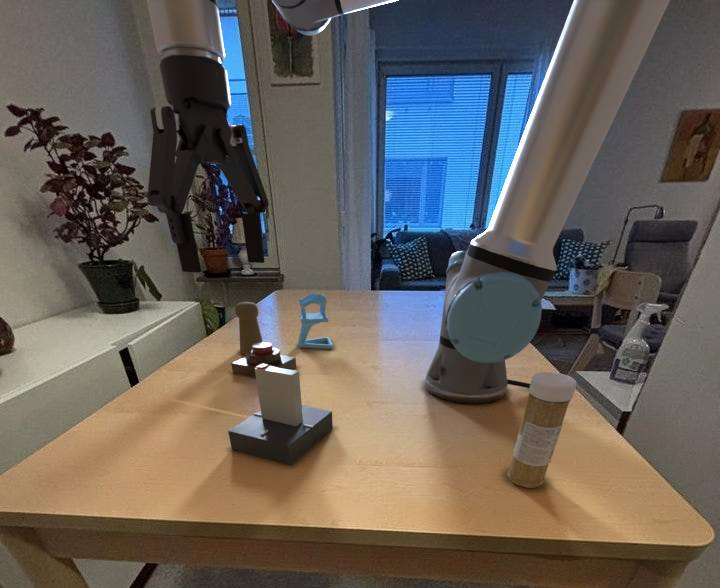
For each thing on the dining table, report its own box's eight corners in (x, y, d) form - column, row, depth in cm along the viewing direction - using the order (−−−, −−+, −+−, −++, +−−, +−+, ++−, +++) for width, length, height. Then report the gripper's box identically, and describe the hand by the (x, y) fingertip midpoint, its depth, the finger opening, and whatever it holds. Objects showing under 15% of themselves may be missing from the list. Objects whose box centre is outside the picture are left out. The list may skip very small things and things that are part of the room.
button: (276, 352, 83) (275, 343, 82) (265, 357, 80) (264, 348, 79) (261, 349, 85) (260, 341, 84) (249, 354, 82) (248, 346, 81)
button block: (296, 367, 86) (294, 348, 84) (272, 380, 79) (270, 360, 77) (259, 361, 89) (256, 343, 87) (233, 373, 83) (229, 354, 80)
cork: (259, 355, 93) (252, 305, 87) (235, 354, 94) (227, 304, 88) (269, 348, 98) (263, 300, 91) (246, 347, 99) (239, 299, 92)
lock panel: (333, 428, 62) (332, 410, 60) (291, 465, 53) (289, 445, 51) (279, 416, 65) (277, 398, 64) (231, 449, 56) (227, 429, 55)
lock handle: (303, 421, 57) (298, 369, 53) (296, 426, 56) (291, 373, 51) (269, 414, 59) (262, 362, 55) (261, 418, 58) (254, 366, 53)
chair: (297, 342, 103) (293, 291, 96) (329, 340, 104) (327, 290, 97) (299, 350, 96) (295, 297, 90) (333, 348, 98) (331, 296, 91)
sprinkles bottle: (516, 466, 53) (542, 367, 46) (549, 479, 51) (584, 377, 43) (500, 479, 50) (525, 377, 43) (535, 494, 48) (569, 388, 40)
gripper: (238, 89, 57) (259, 258, 69) (66, 30, 38) (136, 275, 50) (281, 83, 54) (295, 260, 66) (118, 16, 35) (179, 278, 47)
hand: (227, 267), depth 58 cm, fingers open, 13 cm apart
